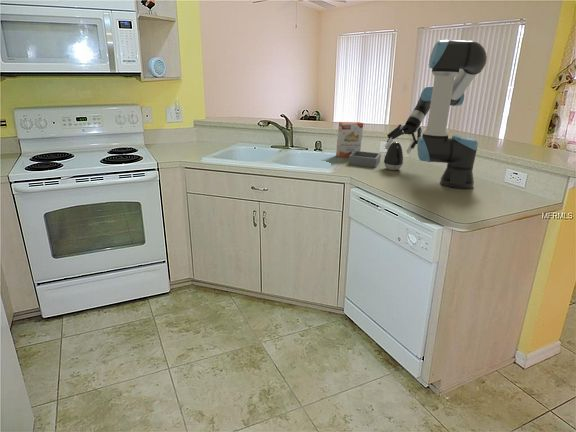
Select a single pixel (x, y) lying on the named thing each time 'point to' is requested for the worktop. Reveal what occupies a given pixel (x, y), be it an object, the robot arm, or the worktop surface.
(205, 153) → the worktop surface
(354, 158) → the drying tray
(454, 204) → the worktop surface
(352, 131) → the cracker box
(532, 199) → the worktop surface
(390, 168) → the dark rounded piece
